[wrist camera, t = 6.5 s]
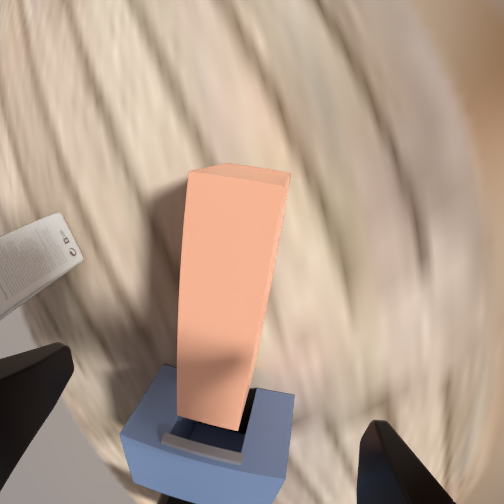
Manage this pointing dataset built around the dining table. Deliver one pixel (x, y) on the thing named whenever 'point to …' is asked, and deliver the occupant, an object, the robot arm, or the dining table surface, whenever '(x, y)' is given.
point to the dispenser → (208, 448)
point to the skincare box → (34, 259)
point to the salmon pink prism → (225, 286)
